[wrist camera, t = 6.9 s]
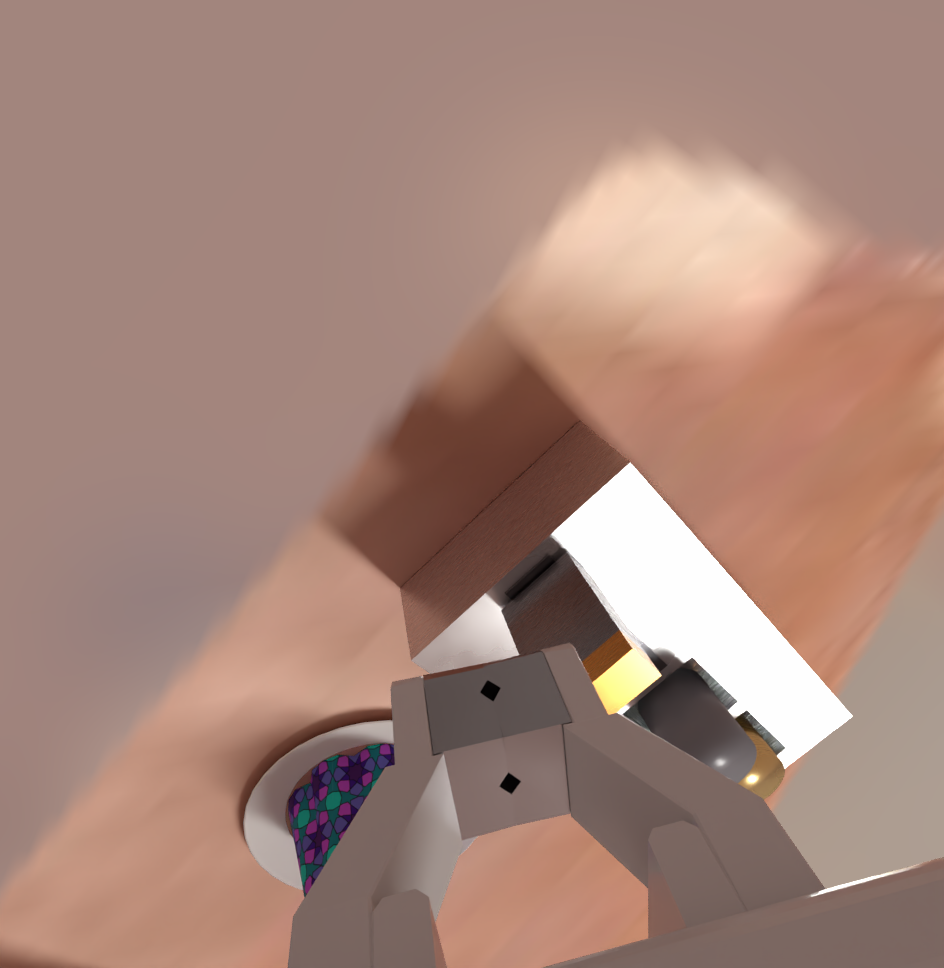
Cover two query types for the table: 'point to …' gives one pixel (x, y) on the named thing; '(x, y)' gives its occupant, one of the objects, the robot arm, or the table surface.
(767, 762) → the button brass
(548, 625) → the slider
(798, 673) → the panel
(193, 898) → the table surface
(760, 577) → the table surface
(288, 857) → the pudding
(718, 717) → the button slate
